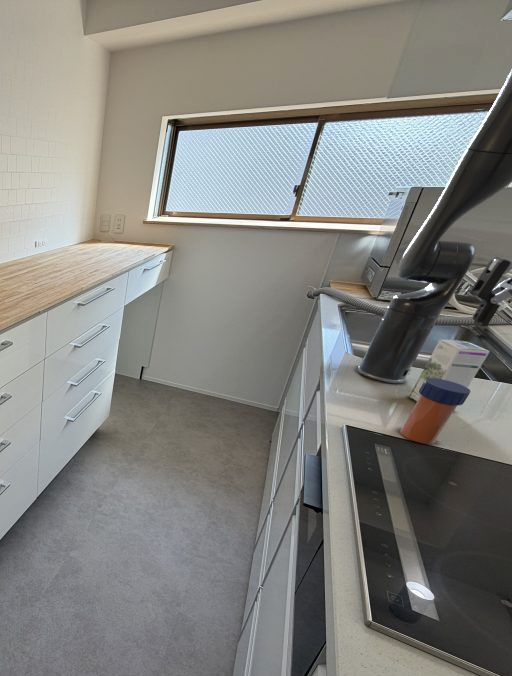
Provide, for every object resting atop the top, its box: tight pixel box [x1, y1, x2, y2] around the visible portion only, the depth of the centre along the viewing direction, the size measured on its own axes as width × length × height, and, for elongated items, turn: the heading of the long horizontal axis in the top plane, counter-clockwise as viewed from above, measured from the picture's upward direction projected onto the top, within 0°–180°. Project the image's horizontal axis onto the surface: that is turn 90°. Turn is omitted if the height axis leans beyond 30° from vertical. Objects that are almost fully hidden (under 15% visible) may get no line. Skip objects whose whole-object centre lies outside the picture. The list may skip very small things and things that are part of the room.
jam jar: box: [399, 395, 458, 445], centre depth 78 cm, size 5×5×11 cm
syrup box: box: [408, 339, 490, 403], centre depth 89 cm, size 6×6×14 cm
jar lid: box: [419, 378, 471, 407], centre depth 76 cm, size 6×6×3 cm
